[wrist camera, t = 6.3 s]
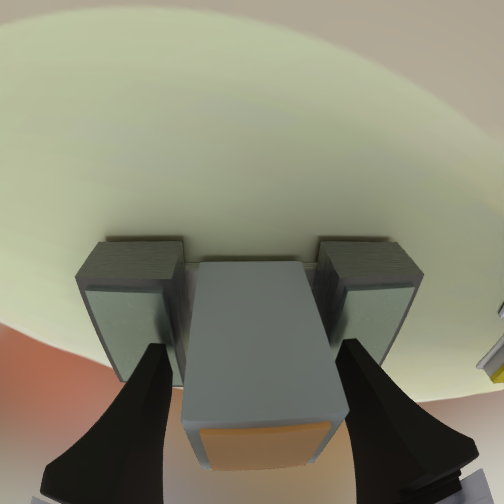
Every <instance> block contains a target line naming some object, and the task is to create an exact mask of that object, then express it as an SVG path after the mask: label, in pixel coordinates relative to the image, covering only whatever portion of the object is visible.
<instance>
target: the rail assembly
mask: <svg viewBox="0 0 504 504" xmlns="http://www.w3.org/2000/svg"><path fill="white" fill-rule="evenodd" d="M301 263H302V266H303V268H304V271H305V274H306V277H307V280H308V283H309V285H310V288H311V291H312V294H313V297H314V300H315V303H316V306H317V309H318V312H319V315H320V318H321V321H322V324H323V327H324V330H325V333H326V336H327V339H328V342H329V345H330V348H331V351H332V354H333V358H334V361H335V360H336V357H337V354H338V352H339V349H340V346H341V344H342V341H343V339H351V338H357V339H358V341H359V342H360V343H361V344H362V345H363V347H364V348H365V349H366V350H367V351H368V353H369V354H370V355H371V356H372V357H373V359H374V360H375V361H376V362H377V363H378V365H379V366H380V367H381V365H382V363H383V361H384V360H385V358H386V356H387V354H388V352H389V350H390V348H391V346H392V344H393V342H394V341H395V339H396V337H397V335H398V333H399V330H400V328H401V326H402V324H403V322H404V320H405V318H406V316H407V314H408V311H409V309H410V307H411V305H412V302H413V300H414V298H415V295H416V293H417V291H418V288H419V286H420V283H421V281H422V278H423V276H424V274H423V272H422V271H421V270H420V269H419V267H418V266H417V265H416V264H415V263H414V261H413V260H412V259H411V258H410V257H409V256H408V254H407V253H406V252H405V251H404V250H403V249H402V247H401V246H400V245H399V244H398V243H397V242H342V241H321V244H320V250H319V256H318V261H317V262H301ZM199 265H200V263H184V253H183V243H182V241H138V242H98V244H97V245H96V247H95V248H94V249H93V251H92V252H91V254H90V255H89V256H88V258H87V259H86V261H85V262H84V264H83V265H82V267H81V268H80V270H79V271H78V273H77V274H76V276H75V279H76V282H77V285H78V287H79V290H80V293H81V296H82V298H83V301H84V304H85V306H86V309H87V311H88V314H89V316H90V319H91V321H92V324H93V326H94V328H95V331H96V333H97V335H98V337H99V340H100V342H101V344H102V346H103V348H104V351H105V353H106V355H107V357H108V359H109V361H110V363H111V365H112V367H113V369H114V371H115V373H116V375H117V377H118V379H119V380H120V382H127V381H128V379H129V377H130V376H131V374H132V373H133V371H134V369H135V368H136V366H137V364H138V363H139V361H140V359H141V357H142V356H143V354H144V352H145V350H146V348H147V346H148V345H149V344H150V343H163V344H165V345H166V349H167V353H168V357H169V360H170V364H171V367H172V371H173V383H172V387H184V379H185V370H186V361H187V352H188V344H189V336H190V328H191V320H192V313H193V306H194V299H195V292H196V285H197V278H198V272H199Z"/></svg>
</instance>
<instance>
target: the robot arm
mask: <svg viewBox="0 0 504 504" xmlns="http://www.w3.org/2000/svg"><path fill="white" fill-rule="evenodd" d="M499 316H500V317H501V318H504V306H503V308H502V309H501V311H500V313H499ZM335 364H336V367H337V370H338V374H339V377H340V380H341V383H342V387H343V390H344V393H345V397H346V400H347V403H348V407H349V410H350V411H349V412H348V414H347V416H346V417H345V422H346V425H347V428H348V431H349V436H350V440H351V446H352V452H353V459H354V468H355V478H356V496H357V504H494V502H493V499H492V496H491V492H490V489H489V486H488V483H487V480H486V477H485V474H484V472H483V469H479V470H477V471H476V472H474V473H473V474H471V475H469V476H467V477H466V478H464V479H462V480H461V481H460V480H459V476H461V471H460V469H461V468H462V467H464V466H465V465H467V464H469V463H470V462H472V461H473V460H474V459H476V458H477V457H478V456H479V452H478V450H477V447H476V445H475V442H474V440H473V439H472V438H470V437H467V436H465V435H463V434H461V433H459V432H457V431H455V430H453V429H451V428H450V427H448V426H447V425H445V424H443V423H442V422H440V421H439V420H437V419H436V418H434V417H433V416H432V415H430V414H429V413H427V412H426V411H425V410H424V409H422V408H421V407H420V406H419V405H417V404H416V403H415V402H414V401H413V400H412V399H411V398H409V397H408V396H407V395H406V394H405V393H404V392H403V391H402V390H401V389H400V388H399V387H398V386H397V385H396V384H395V383H394V382H393V380H392V379H391V378H390V377H389V376H388V375H387V374H386V373H385V372H384V370H383V369H382V368H381V367H380V366H379V365H378V363H377V362H376V361H375V360H374V359H373V357H372V356H371V355H370V354H369V353H368V351H367V350H366V349H365V348H364V347H363V345H362V344H361V343H360V342H359V341H358V339H357V338H351V339H343V341H342V344H341V346H340V349H339V352H338V354H337V357H336V360H335ZM172 383H173V371H172V367H171V364H170V360H169V357H168V353H167V349H166V345H165V344H163V343H150V344H149V345H148V346H147V348H146V350H145V352H144V354H143V356H142V357H141V359H140V361H139V363H138V364H137V366H136V368H135V369H134V371H133V373H132V374H131V376H130V377H129V379H128V381H127V382H126V384H125V385H124V387H123V388H122V390H121V391H120V393H119V394H118V395H117V397H116V398H115V400H114V401H113V402H112V404H111V405H110V406H109V408H108V409H107V410H106V411H105V413H104V414H103V415H102V416H101V417H100V419H99V420H98V421H97V422H96V423H95V424H94V425H93V426H92V427H91V428H90V430H89V431H88V432H87V433H86V434H85V435H84V436H83V437H81V438H80V439H79V440H78V441H77V442H76V443H75V444H74V445H73V446H72V447H70V448H69V449H68V450H67V451H66V452H64V453H63V454H62V455H60V456H59V457H58V458H56V459H55V460H54V461H52V462H51V463H49V464H48V465H47V466H46V468H45V471H44V474H43V478H42V483H41V488H40V493H41V494H42V495H44V496H46V497H48V498H50V499H53V500H55V501H57V502H59V503H62V504H163V446H164V437H165V431H166V425H167V419H168V413H169V408H170V402H171V396H172ZM31 504H50V503H47V502H45V501H42V500H40V499H38V498H36V497H32V500H31Z"/></svg>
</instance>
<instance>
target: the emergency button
mask: <svg viewBox="0 0 504 504" xmlns="http://www.w3.org/2000/svg"><path fill="white" fill-rule="evenodd" d="M476 368H477V369H484V371H485V372H486V373H487V375H488V376H489V378H490V380H491V381H492V382H493V383H504V335H503V336H502V337H501V338H500V339H499V340H498V342H497V343H496V344H495V345H494V346H493V347H492V348H491V349H490V350H489V352H488V353H487V354H486V355H485V356H484V357H483V358H482V359H481V360H480V361H479V362H478V363H477V365H476Z"/></svg>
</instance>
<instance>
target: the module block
mask: <svg viewBox="0 0 504 504" xmlns="http://www.w3.org/2000/svg"><path fill="white" fill-rule="evenodd" d="M349 411H350V410H349V407H348V403H347V400H346V397H345V393H344V390H343V387H342V383H341V380H340V377H339V374H338V370H337V367H336V364H335V361H334V358H333V354H332V351H331V348H330V345H329V342H328V339H327V336H326V333H325V330H324V327H323V324H322V321H321V318H320V315H319V312H318V309H317V306H316V303H315V300H314V297H313V294H312V291H311V288H310V285H309V283H308V280H307V277H306V274H305V271H304V268H303V266H302V263H301V261H256V262H200V265H199V272H198V278H197V285H196V292H195V299H194V306H193V313H192V320H191V328H190V336H189V344H188V352H187V361H186V370H185V379H184V389H183V399H182V411H181V422H182V425H183V427H184V430H185V432H186V434H187V437H188V439H189V441H190V444H191V446H192V448H193V450H194V452H195V455H196V457H197V459H198V461H199V463H200V465H201V467H202V468H203V469H212V470H220V471H223V470H224V471H230V470H231V471H233V470H260V469H275V468H286V467H295V466H303V465H306V464H308V463H314V462H315V460H316V459H317V458H318V456H319V455H320V453H321V452H322V451H323V449H324V448H325V447H326V445H327V444H328V442H329V441H330V440H331V438H332V437H333V435H334V434H335V432H336V431H337V429H338V428H339V426H340V425H341V423H342V422H343V420H344V419H345V417H346V416H347V414H348V412H349Z"/></svg>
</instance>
